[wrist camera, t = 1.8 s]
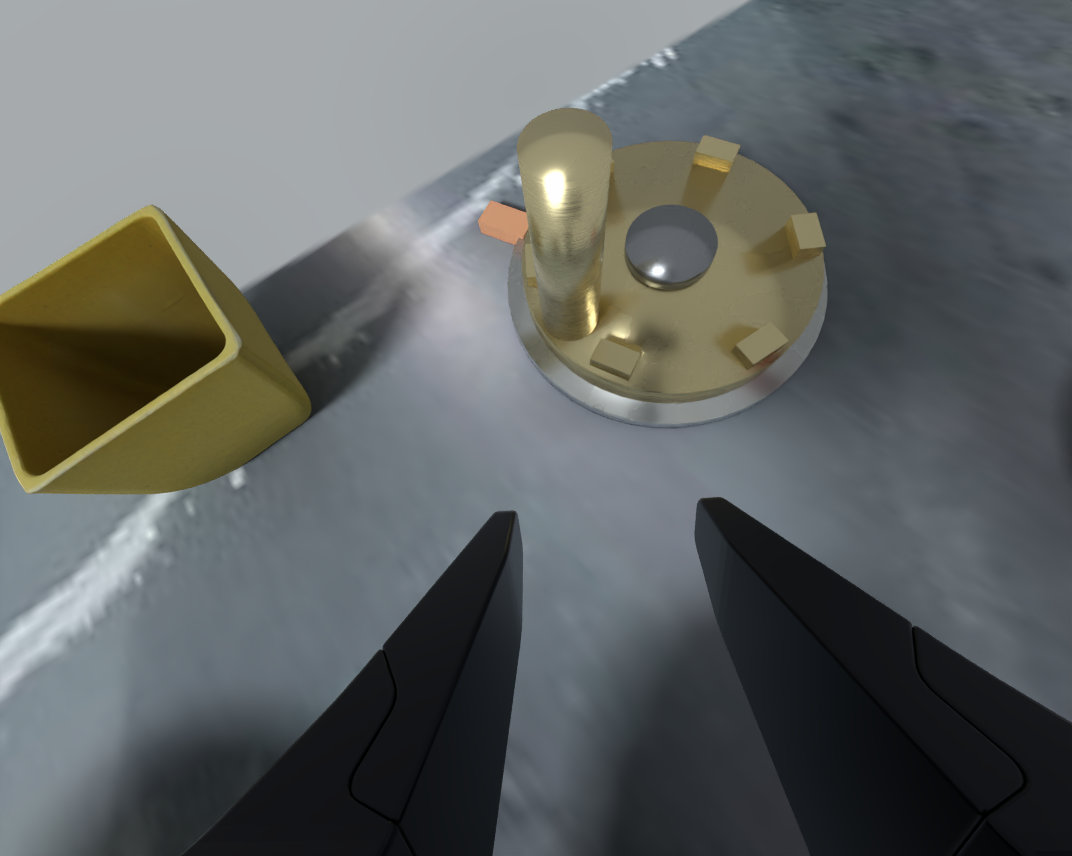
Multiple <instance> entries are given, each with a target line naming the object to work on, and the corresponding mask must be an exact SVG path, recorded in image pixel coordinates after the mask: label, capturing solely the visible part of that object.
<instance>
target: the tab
mask: <svg viewBox="0 0 1072 856" xmlns="http://www.w3.org/2000/svg"><path fill="white" fill-rule="evenodd" d="M478 222H479V226H480V229H481V233H484V234H486V235H489V236H492V237H494V238H497V239H500V240H503V241H505V242H508V243H511V244H514V245H516V243H517V240H518V238H521V239H524V237H525V236H526V233H527V230H528V220H527V214H526V212H523V211H520V210H517V209H514V208H511V207H508V206H506V205H503V204H500V203H497V202H494V201H490V202H489V204H488V206H487V207H486V209H485V210H484V212H483V214H482V215H481V217H480V218H479V220H478Z"/></svg>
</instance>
